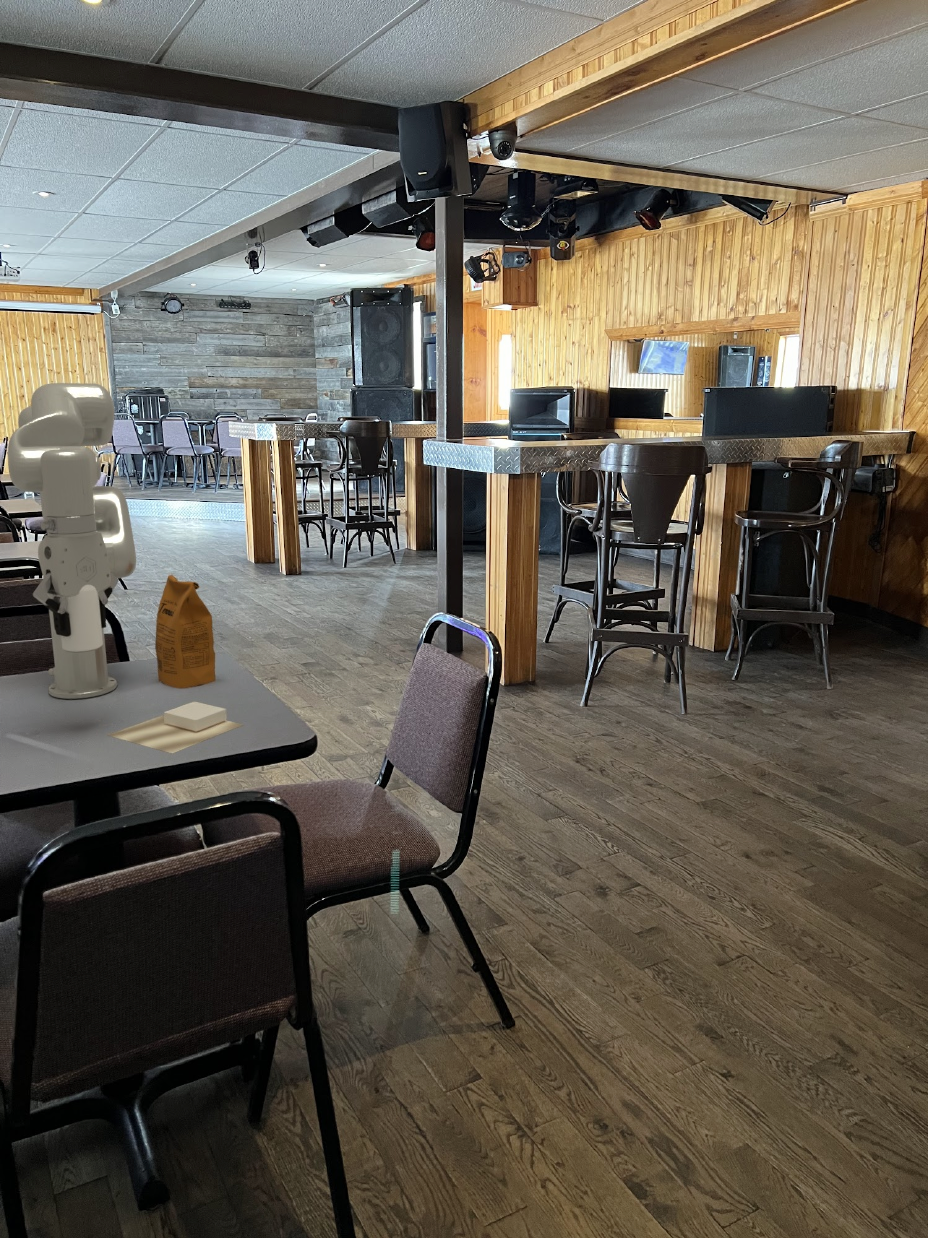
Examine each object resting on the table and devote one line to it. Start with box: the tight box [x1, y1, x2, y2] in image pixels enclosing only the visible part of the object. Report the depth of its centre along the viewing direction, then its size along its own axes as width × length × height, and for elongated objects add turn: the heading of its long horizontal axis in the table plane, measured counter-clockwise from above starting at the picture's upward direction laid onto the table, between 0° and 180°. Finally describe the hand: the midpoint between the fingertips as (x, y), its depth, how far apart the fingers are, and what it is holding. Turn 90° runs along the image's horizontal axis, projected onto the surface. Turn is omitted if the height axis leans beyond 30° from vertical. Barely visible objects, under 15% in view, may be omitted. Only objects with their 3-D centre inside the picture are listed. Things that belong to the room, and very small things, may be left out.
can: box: [58, 580, 103, 653], centre depth 156 cm, size 6×6×12 cm
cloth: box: [107, 714, 244, 755], centre depth 159 cm, size 16×16×1 cm
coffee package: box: [154, 574, 216, 689], centre depth 186 cm, size 10×12×22 cm
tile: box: [163, 701, 228, 732], centre depth 162 cm, size 2×7×8 cm
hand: (81, 630), depth 156 cm, fingers closed on can, 6 cm apart
